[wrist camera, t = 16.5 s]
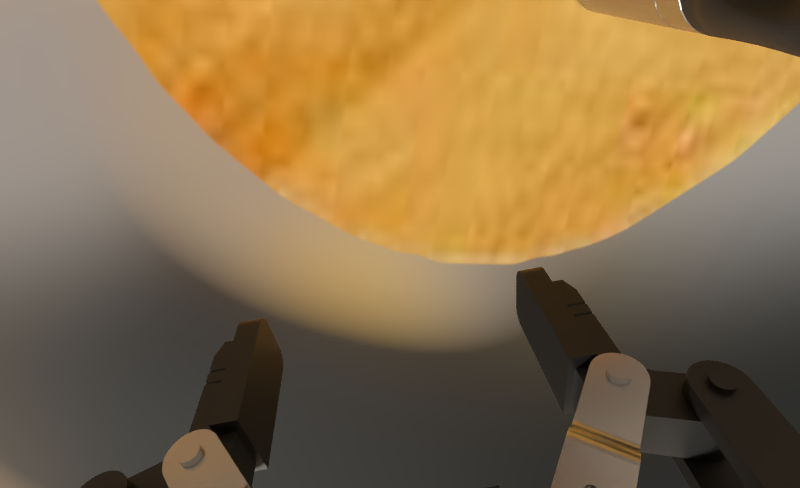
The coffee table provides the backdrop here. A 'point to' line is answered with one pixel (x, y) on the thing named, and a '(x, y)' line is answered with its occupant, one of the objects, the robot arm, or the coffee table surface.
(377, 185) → the coffee table surface
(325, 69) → the coffee table surface
